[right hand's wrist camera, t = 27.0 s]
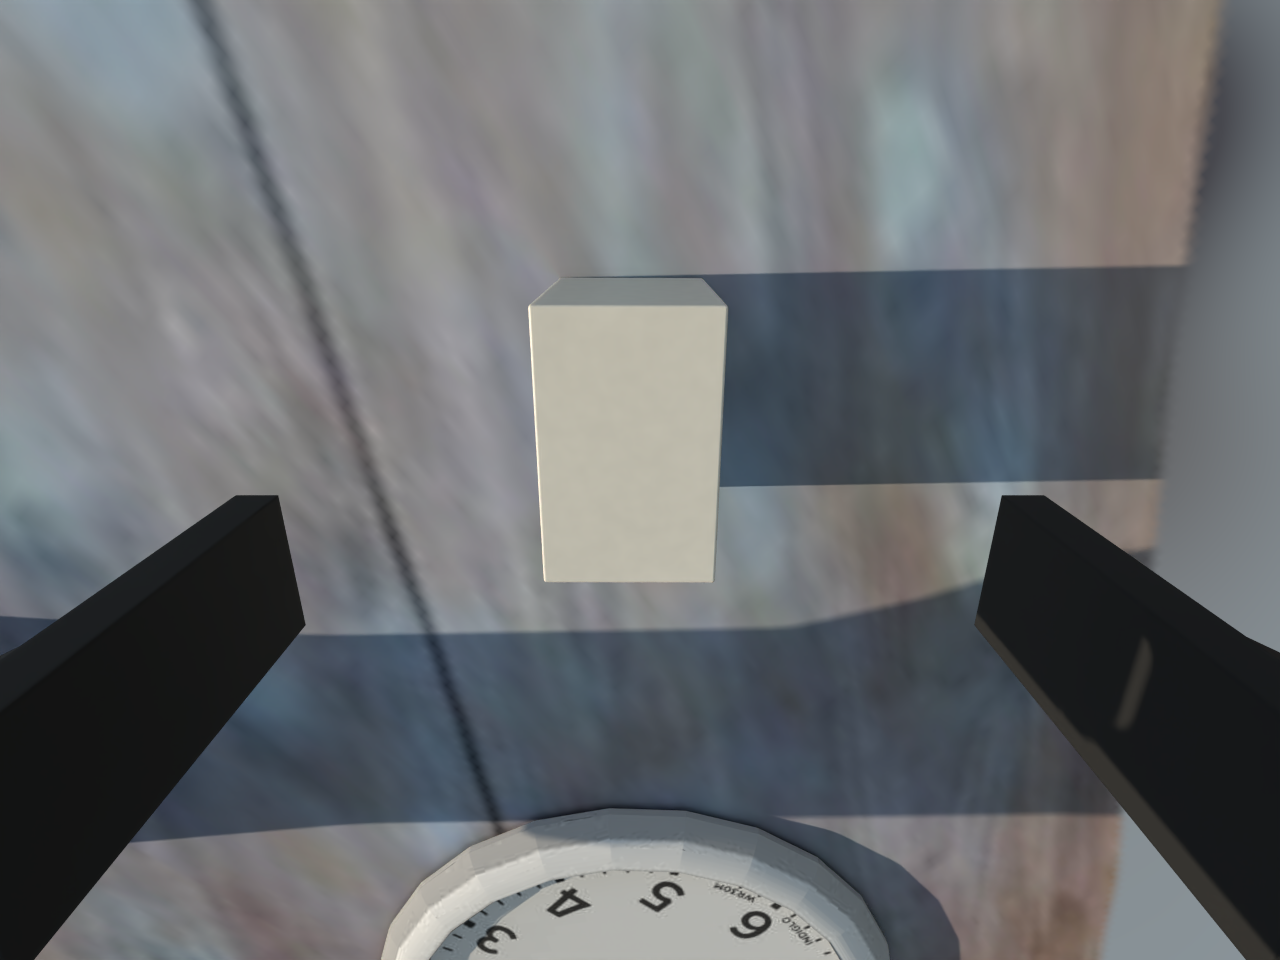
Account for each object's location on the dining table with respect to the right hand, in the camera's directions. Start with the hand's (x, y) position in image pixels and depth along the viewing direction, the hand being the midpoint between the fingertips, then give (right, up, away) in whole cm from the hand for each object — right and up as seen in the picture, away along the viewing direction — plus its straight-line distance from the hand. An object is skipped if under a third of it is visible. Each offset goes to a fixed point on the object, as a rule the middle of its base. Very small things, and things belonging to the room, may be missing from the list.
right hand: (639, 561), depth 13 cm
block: (0, +5, +14) cm, 15 cm away
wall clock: (0, -29, +28) cm, 40 cm away
